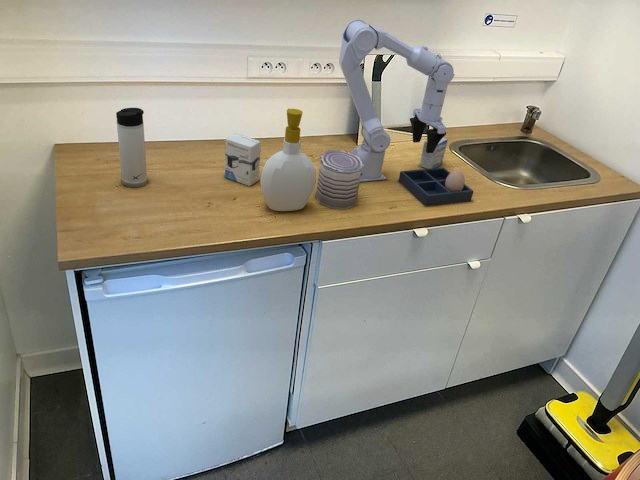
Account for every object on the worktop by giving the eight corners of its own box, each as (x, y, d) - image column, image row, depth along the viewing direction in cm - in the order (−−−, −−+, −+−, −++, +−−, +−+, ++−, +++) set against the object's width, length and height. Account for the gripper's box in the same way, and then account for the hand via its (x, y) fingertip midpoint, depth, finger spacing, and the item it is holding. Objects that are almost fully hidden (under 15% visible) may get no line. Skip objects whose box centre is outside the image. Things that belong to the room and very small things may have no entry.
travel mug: (141, 189, 141) (136, 115, 130) (117, 185, 141) (110, 110, 131) (152, 179, 146) (148, 107, 135) (129, 175, 147) (123, 103, 136)
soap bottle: (307, 196, 148) (317, 103, 134) (316, 213, 141) (328, 116, 127) (254, 199, 143) (260, 103, 129) (262, 216, 136) (268, 117, 122)
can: (347, 187, 155) (353, 148, 148) (363, 207, 146) (371, 167, 140) (309, 190, 151) (314, 150, 144) (324, 211, 142) (330, 169, 135)
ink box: (223, 177, 152) (224, 138, 145) (234, 171, 155) (235, 132, 149) (249, 186, 149) (251, 146, 142) (259, 180, 152) (261, 141, 146)
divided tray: (425, 206, 150) (428, 195, 149) (398, 181, 162) (400, 171, 160) (470, 201, 156) (473, 191, 155) (441, 177, 168) (443, 167, 166)
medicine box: (431, 171, 171) (437, 145, 166) (418, 166, 173) (424, 140, 168) (442, 164, 176) (448, 139, 172) (430, 159, 178) (436, 134, 174)
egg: (461, 199, 155) (468, 176, 151) (442, 196, 155) (449, 173, 151) (460, 191, 159) (466, 168, 155) (442, 188, 160) (448, 165, 156)
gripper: (459, 111, 150) (447, 156, 158) (431, 93, 161) (421, 136, 169) (437, 112, 148) (427, 158, 155) (410, 94, 159) (401, 138, 166)
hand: (422, 147), depth 162 cm, fingers open, 7 cm apart
